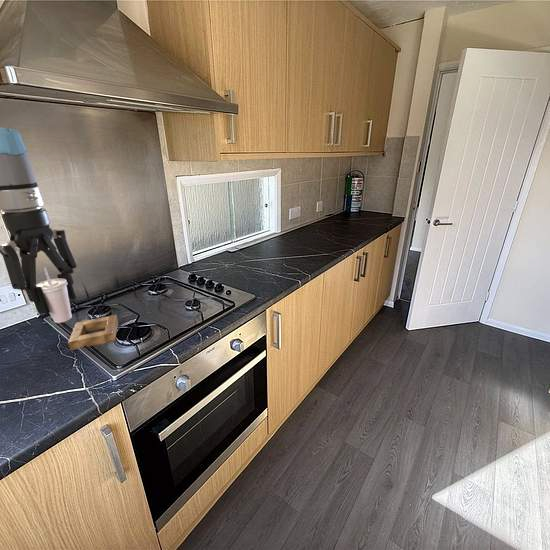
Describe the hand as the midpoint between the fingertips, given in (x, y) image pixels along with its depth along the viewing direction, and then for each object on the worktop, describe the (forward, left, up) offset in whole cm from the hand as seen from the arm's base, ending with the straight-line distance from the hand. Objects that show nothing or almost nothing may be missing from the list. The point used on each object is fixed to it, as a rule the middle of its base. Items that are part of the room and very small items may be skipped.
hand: (57, 304), depth 71 cm
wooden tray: (-10, +16, -21) cm, 28 cm away
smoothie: (0, 0, -4) cm, 4 cm away
